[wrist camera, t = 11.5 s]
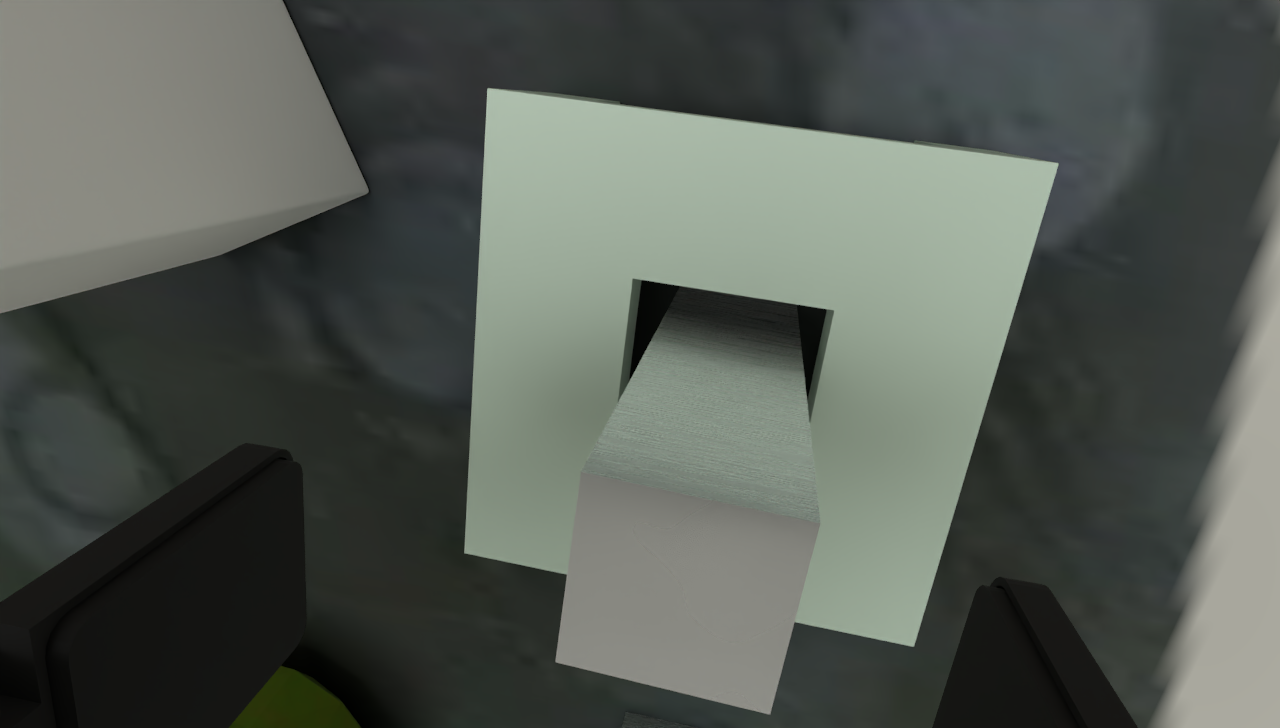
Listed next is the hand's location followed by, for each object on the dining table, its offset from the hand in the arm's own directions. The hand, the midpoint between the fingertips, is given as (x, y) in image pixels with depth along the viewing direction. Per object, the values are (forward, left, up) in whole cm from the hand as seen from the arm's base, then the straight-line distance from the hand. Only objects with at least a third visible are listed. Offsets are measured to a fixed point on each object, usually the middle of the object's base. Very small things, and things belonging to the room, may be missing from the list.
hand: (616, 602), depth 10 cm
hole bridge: (+1, -1, -13) cm, 13 cm away
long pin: (+1, -1, -13) cm, 13 cm away
